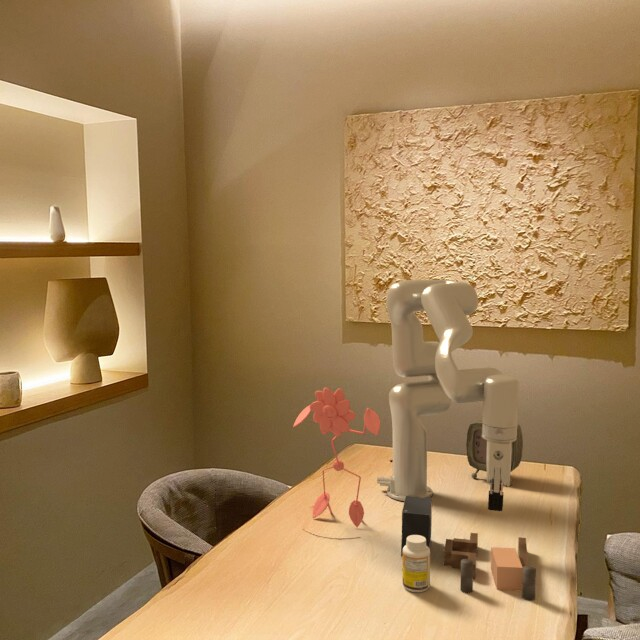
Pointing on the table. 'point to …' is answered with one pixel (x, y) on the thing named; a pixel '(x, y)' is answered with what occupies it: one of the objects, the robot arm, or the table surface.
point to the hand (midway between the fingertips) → (495, 509)
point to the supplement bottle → (416, 564)
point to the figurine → (334, 418)
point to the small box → (416, 519)
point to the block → (506, 569)
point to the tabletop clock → (479, 448)
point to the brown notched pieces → (464, 558)
